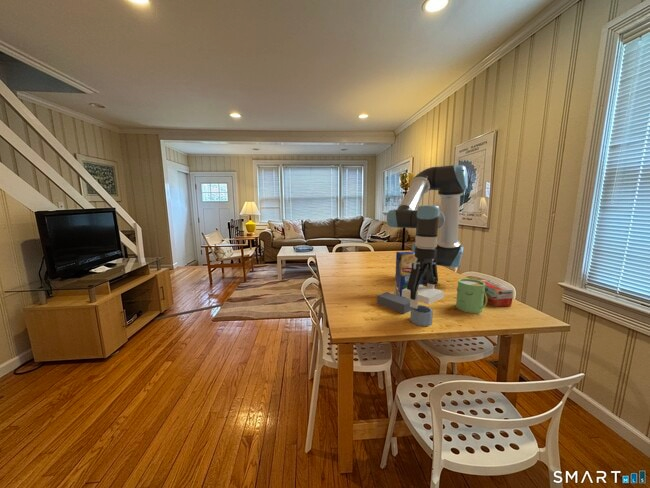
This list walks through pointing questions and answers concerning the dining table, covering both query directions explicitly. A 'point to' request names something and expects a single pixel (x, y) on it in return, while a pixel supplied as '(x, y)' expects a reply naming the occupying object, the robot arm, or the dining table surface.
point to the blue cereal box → (404, 270)
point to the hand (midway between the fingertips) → (422, 303)
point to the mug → (470, 295)
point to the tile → (425, 294)
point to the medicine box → (497, 294)
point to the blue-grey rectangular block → (394, 302)
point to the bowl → (421, 315)
